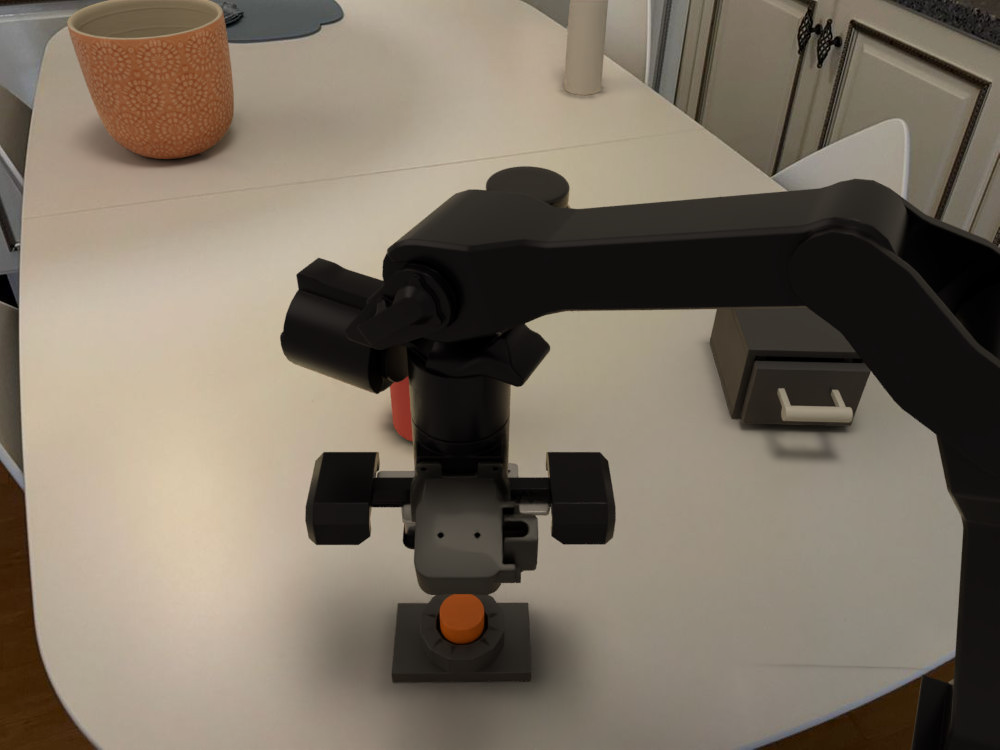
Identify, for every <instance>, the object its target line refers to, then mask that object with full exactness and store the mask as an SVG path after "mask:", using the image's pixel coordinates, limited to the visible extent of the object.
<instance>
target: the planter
mask: <svg viewBox="0 0 1000 750" xmlns="http://www.w3.org/2000/svg"><path fill="white" fill-rule="evenodd" d="M225 19H226V18H225V13H224V10H223V8H222V7H221V6H220V5H219V4H218V3H217V2H214V1H212V0H105V1H100V2H97V3H94V4H91V5H87V6H85V7H83V8H81V9H79V10H77V11H75V12H74V13H72V14H71V15H70V16H69V17H68V19H67V22H66V26H67V31H68V33H69V37H70V40H71V44H72V47H73V50H74V53H75V56H76V58H77V62H78V64H79V68H80V71H81V73H82V76H83V79H84V82H85V85H86V87H87V90H88V93H89V95H90V98H91V100H92V103H93V105H94V107H95V110H96V112H97V114H98V116H99V119H100V121H101V122H102V125H103V126H104V128H105V130H106V132H107V133H108V134H109V135H110V137H111V138H112V139H113V140H114V141H115V142H116V143H117V144H118V145H120V146H121V147H123V148H125V149H126V150H127V151H130V152H132V153H134V154H136V155H139V156H142V157H145V158H148V159H149V158H150V159H155V160H156V159H157V160H173V159H181V158H188V157H192V156H195V155H196V156H197V155H198V154H201V153H204V152H206V151H208V150H210V149H211V148H213V147H214V146H216V145H217V144H218V143H219V142H220V141H221V140H222V139H223V138H224V136H226V134H227V132H229V130H230V128H231V125H232V122H233V119H234V114H235V113H234V112H235V96H234V95H235V92H234V80H233V79H234V78H233V71H232V62H231V53H230V46H229V38H228V34H227V33H228V32H227V24H226V20H225Z"/></svg>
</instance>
